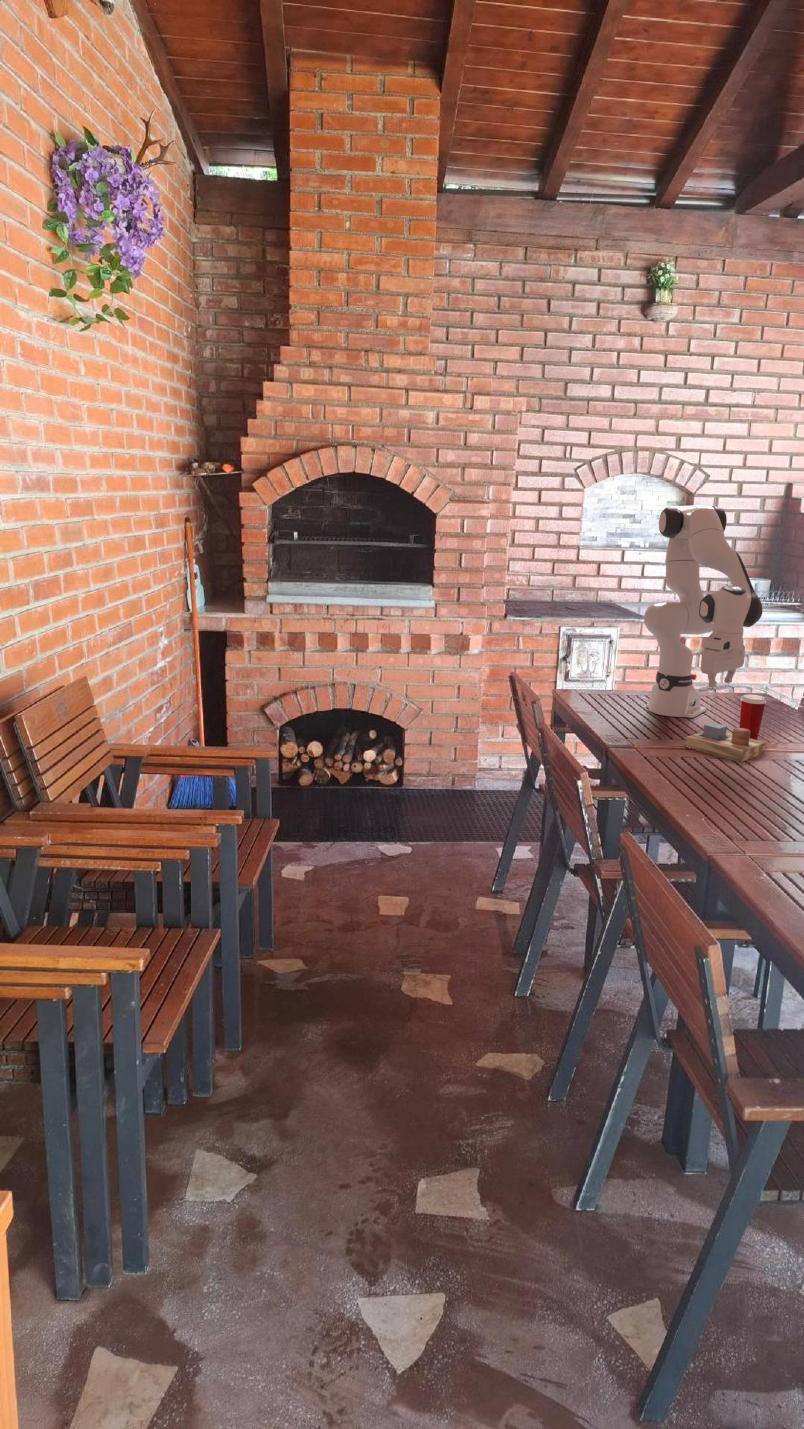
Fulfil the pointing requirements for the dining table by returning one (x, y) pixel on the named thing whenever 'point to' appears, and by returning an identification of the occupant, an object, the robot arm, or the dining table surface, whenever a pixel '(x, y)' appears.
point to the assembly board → (728, 745)
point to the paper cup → (752, 714)
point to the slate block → (714, 731)
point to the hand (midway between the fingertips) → (720, 684)
